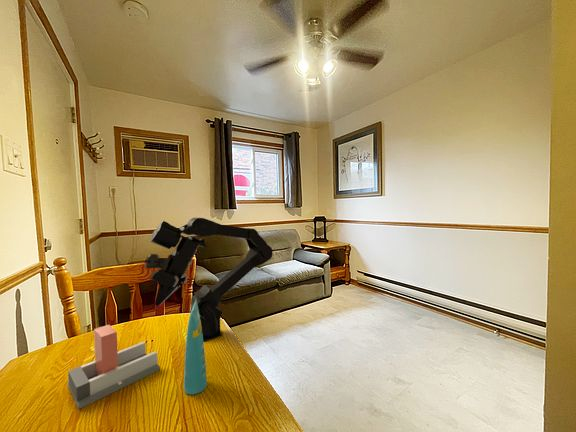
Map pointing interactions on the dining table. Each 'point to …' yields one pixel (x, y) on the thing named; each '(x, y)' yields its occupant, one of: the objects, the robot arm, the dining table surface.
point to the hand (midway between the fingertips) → (156, 305)
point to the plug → (105, 349)
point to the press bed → (111, 375)
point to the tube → (194, 355)
